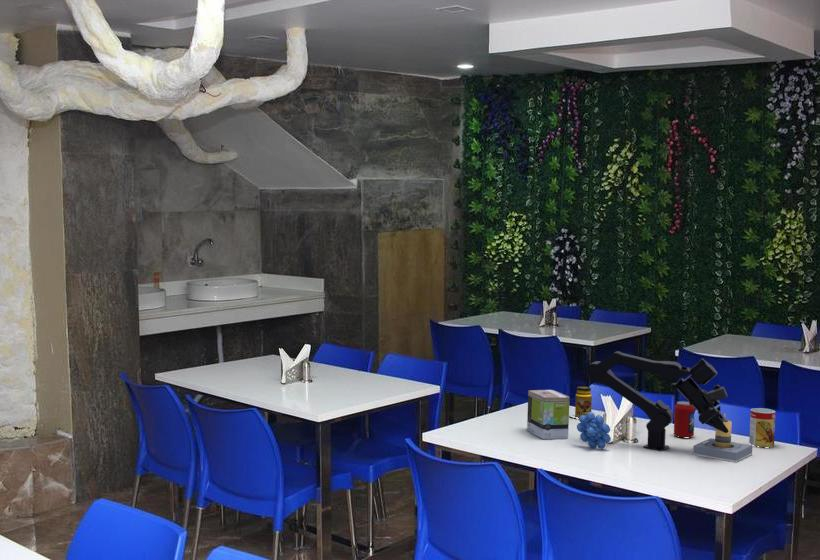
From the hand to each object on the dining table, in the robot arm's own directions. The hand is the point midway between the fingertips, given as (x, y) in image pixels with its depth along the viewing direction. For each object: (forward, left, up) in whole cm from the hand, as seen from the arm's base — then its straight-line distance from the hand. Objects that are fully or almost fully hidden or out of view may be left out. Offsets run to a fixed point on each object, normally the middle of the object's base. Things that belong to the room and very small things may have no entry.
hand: (727, 430), depth 305 cm
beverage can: (+15, +21, -8) cm, 27 cm away
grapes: (-23, +36, -8) cm, 44 cm away
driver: (0, +1, -7) cm, 7 cm away
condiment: (+18, +63, -8) cm, 66 cm away
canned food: (+21, -4, -8) cm, 23 cm away
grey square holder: (0, +1, -8) cm, 8 cm away
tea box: (-15, +58, -8) cm, 61 cm away
